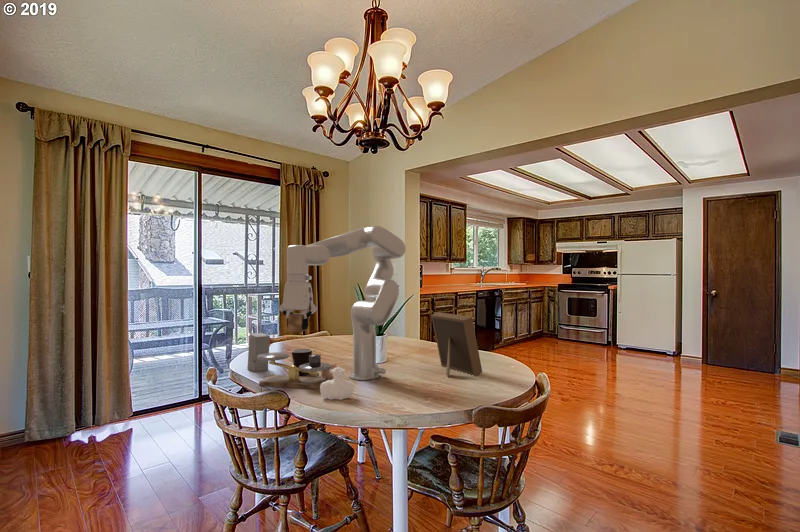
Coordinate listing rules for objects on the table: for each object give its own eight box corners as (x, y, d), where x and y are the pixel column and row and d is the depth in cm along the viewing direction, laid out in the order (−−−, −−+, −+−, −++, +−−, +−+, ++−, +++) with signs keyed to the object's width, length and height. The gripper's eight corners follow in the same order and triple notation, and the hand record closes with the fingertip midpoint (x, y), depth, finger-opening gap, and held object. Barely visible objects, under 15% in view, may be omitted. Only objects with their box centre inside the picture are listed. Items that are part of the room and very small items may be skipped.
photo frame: (448, 364, 188) (447, 311, 188) (482, 374, 170) (481, 315, 170) (423, 369, 180) (422, 313, 180) (456, 380, 162) (455, 318, 162)
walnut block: (307, 329, 148) (307, 313, 148) (301, 332, 144) (301, 315, 144) (294, 329, 149) (294, 313, 150) (288, 331, 145) (288, 315, 145)
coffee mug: (309, 376, 169) (309, 352, 169) (289, 376, 169) (289, 352, 169) (315, 369, 180) (315, 347, 180) (296, 369, 180) (296, 347, 181)
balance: (335, 377, 161) (335, 353, 161) (323, 386, 149) (323, 359, 149) (267, 373, 167) (267, 349, 167) (250, 381, 156) (250, 356, 156)
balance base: (327, 381, 160) (327, 378, 160) (316, 389, 151) (316, 385, 151) (272, 378, 166) (272, 374, 166) (259, 385, 156) (259, 381, 156)
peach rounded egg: (338, 377, 167) (338, 363, 167) (333, 381, 161) (332, 366, 161) (325, 376, 168) (325, 362, 168) (319, 380, 162) (319, 365, 162)
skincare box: (247, 369, 181) (247, 333, 181) (262, 366, 186) (262, 332, 186) (254, 372, 175) (254, 336, 175) (270, 369, 180) (270, 334, 180)
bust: (354, 403, 141) (356, 373, 148) (352, 395, 135) (354, 364, 142) (320, 403, 141) (324, 372, 148) (316, 395, 135) (320, 364, 142)
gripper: (323, 278, 149) (323, 328, 148) (281, 278, 152) (281, 327, 152) (315, 279, 141) (315, 331, 141) (271, 279, 145) (271, 330, 145)
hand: (297, 328), depth 147 cm, fingers closed on walnut block, 5 cm apart
